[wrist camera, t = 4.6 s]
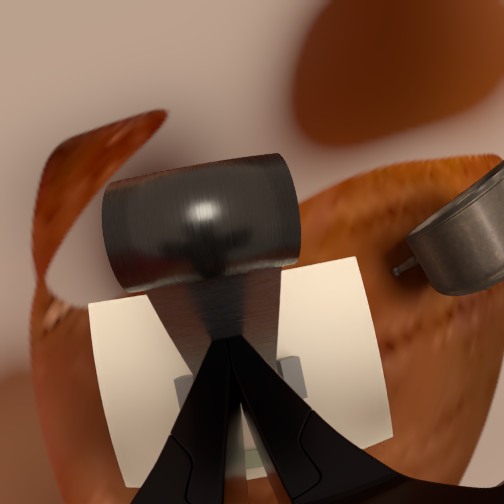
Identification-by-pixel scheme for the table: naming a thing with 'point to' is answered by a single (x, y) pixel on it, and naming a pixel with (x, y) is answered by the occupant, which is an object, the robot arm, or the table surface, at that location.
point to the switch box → (287, 366)
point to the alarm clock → (463, 240)
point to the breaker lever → (207, 248)
